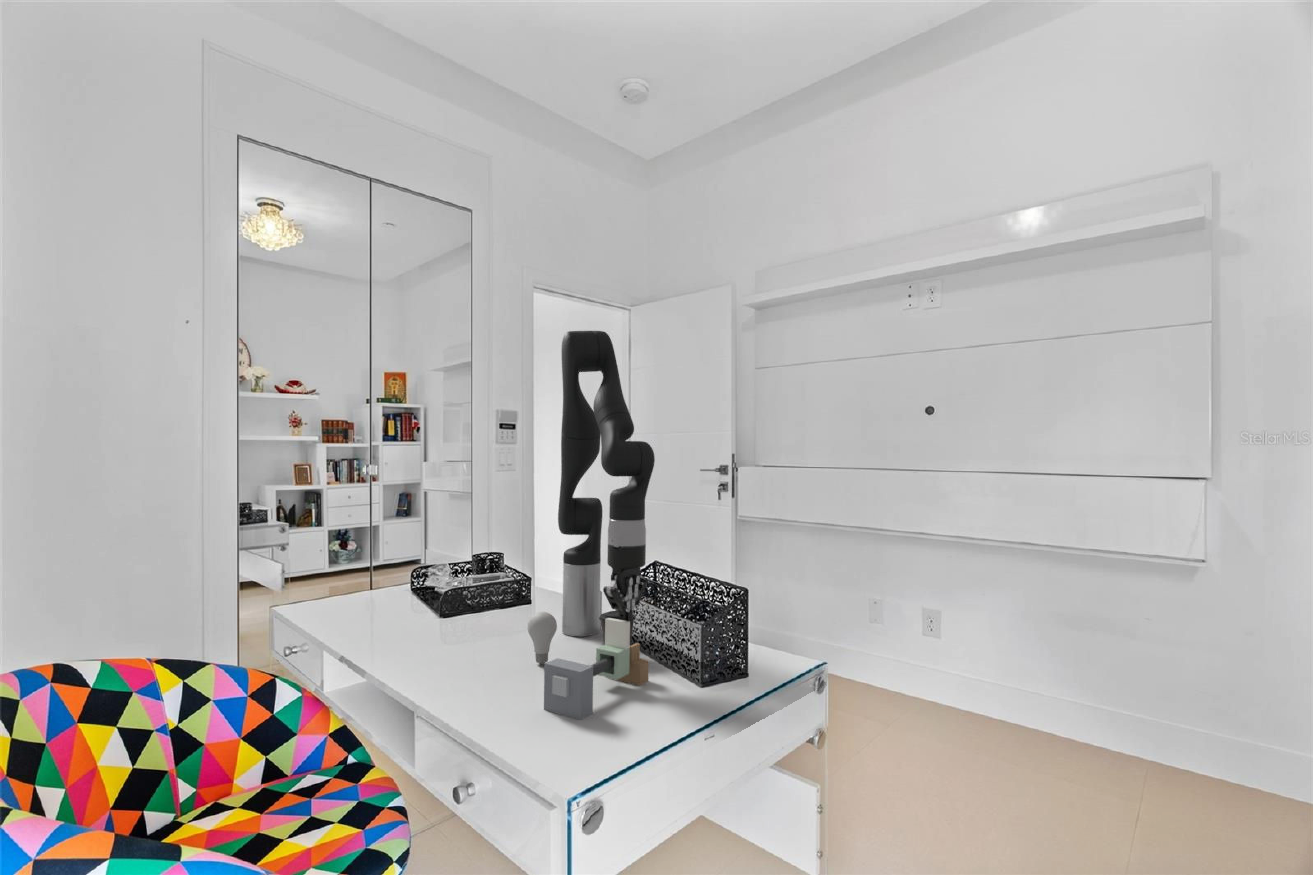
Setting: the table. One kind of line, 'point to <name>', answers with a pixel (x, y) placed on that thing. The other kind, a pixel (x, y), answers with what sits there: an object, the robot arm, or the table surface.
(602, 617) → the coffee cup
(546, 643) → the lightbulb
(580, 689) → the rod rig
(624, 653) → the white-faced green block
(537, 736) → the table surface
